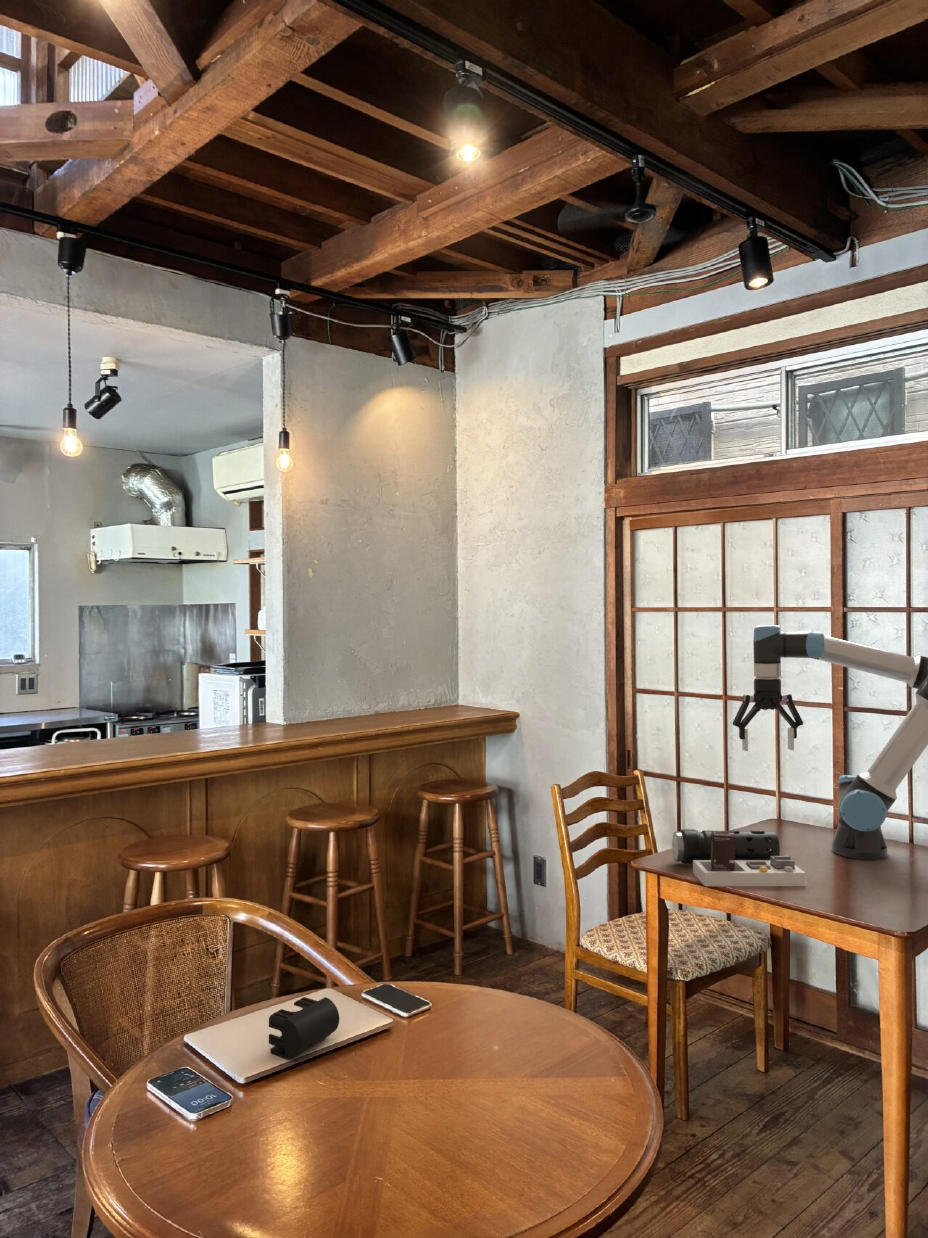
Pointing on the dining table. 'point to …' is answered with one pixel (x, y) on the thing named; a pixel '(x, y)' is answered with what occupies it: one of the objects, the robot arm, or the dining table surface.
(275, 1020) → the end cap
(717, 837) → the box
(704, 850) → the muzzle brake
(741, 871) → the grey compartment tray
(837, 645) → the robot arm
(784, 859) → the button
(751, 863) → the button
